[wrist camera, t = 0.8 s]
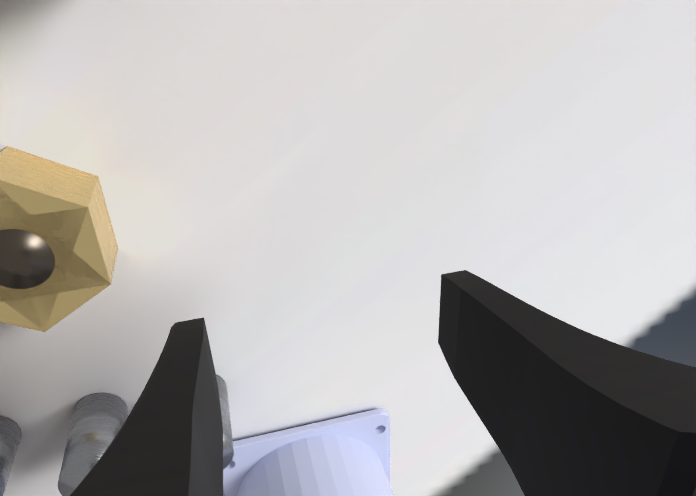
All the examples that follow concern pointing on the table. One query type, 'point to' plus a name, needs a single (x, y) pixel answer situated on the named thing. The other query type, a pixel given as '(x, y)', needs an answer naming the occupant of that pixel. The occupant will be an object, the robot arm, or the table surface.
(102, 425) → the metal pins
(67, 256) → the nut
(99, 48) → the table surface
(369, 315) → the table surface
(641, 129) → the table surface
